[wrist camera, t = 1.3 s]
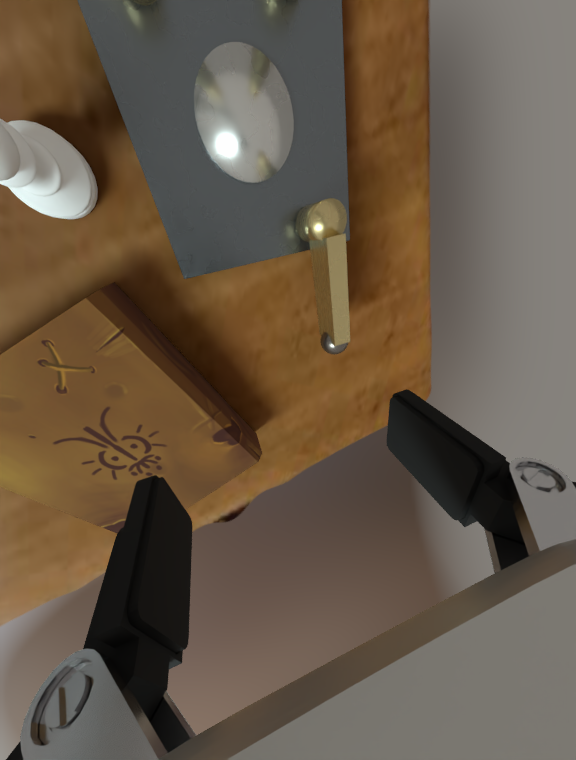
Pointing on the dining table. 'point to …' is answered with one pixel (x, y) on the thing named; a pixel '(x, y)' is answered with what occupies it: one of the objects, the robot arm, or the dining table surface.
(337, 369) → the dining table surface
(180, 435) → the diary
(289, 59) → the levelling plate
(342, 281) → the brass lever
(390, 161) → the dining table surface
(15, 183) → the chess pawn
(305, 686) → the robot arm
